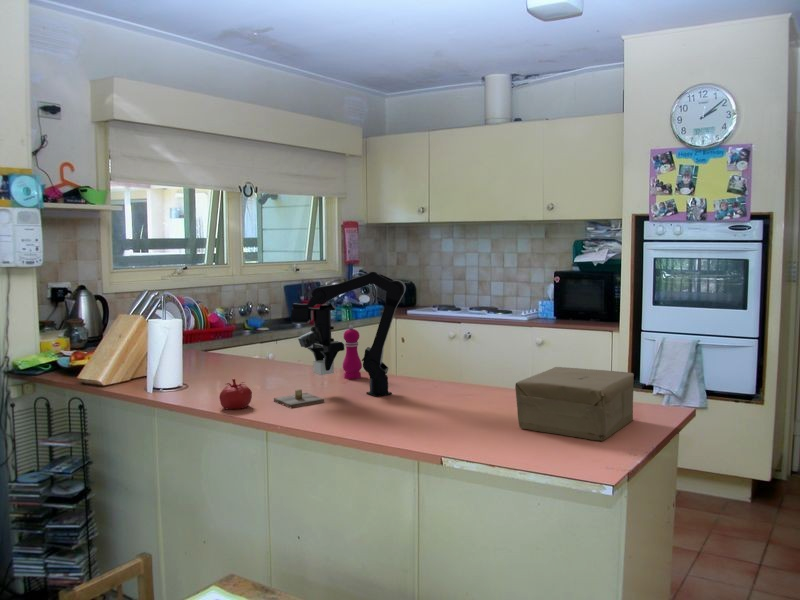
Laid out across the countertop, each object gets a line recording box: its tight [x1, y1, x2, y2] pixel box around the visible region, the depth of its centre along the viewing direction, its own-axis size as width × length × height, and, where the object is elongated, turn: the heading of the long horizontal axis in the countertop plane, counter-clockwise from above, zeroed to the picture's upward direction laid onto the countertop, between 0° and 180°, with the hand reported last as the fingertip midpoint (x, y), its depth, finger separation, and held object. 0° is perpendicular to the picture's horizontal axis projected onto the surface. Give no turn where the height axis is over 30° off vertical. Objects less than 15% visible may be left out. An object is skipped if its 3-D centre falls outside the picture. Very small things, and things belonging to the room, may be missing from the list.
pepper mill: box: [342, 324, 363, 380], centre depth 267 cm, size 7×7×20 cm
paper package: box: [514, 366, 635, 442], centre depth 196 cm, size 27×26×14 cm
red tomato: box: [218, 378, 253, 410], centre depth 224 cm, size 10×10×9 cm
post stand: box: [273, 389, 325, 408], centre depth 230 cm, size 12×12×4 cm
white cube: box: [312, 360, 335, 376], centre depth 240 cm, size 5×5×4 cm
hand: (323, 369), depth 240 cm, fingers closed on white cube, 5 cm apart
